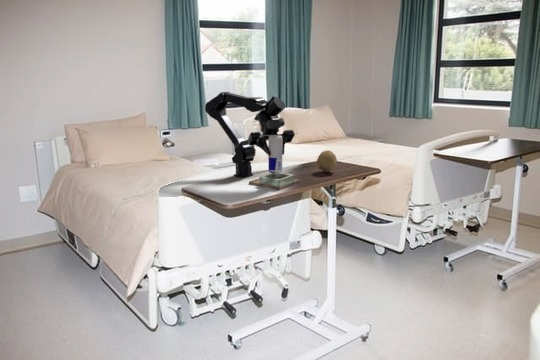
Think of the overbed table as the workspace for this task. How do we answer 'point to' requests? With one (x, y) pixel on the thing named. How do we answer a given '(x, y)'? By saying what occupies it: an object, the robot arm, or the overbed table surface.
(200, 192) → the overbed table surface
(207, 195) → the overbed table surface
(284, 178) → the socket dock
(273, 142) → the beverage can
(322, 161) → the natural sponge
